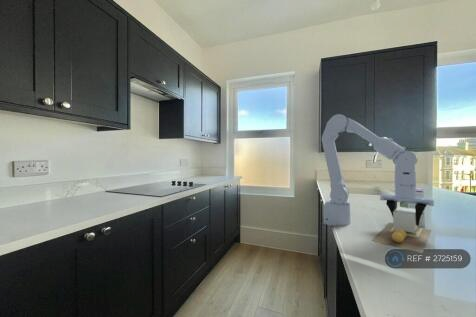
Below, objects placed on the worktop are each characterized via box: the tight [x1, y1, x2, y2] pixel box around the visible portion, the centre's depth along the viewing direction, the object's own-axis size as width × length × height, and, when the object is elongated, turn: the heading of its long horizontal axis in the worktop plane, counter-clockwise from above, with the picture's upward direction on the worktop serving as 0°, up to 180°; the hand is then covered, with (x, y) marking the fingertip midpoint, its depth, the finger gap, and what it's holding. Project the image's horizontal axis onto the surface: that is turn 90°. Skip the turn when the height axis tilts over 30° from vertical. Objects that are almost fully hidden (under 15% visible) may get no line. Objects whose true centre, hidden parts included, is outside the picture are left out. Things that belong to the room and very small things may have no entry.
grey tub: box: [392, 206, 419, 233], centre depth 72 cm, size 6×9×6 cm, turn 132°
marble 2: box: [392, 232, 404, 243], centre depth 63 cm, size 3×3×3 cm
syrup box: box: [399, 187, 426, 228], centre depth 81 cm, size 6×6×14 cm
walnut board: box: [371, 222, 432, 254], centre depth 68 cm, size 12×24×1 cm, turn 132°
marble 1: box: [395, 229, 406, 238], centre depth 65 cm, size 3×3×3 cm
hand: (406, 223), depth 72 cm, fingers closed on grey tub, 5 cm apart
